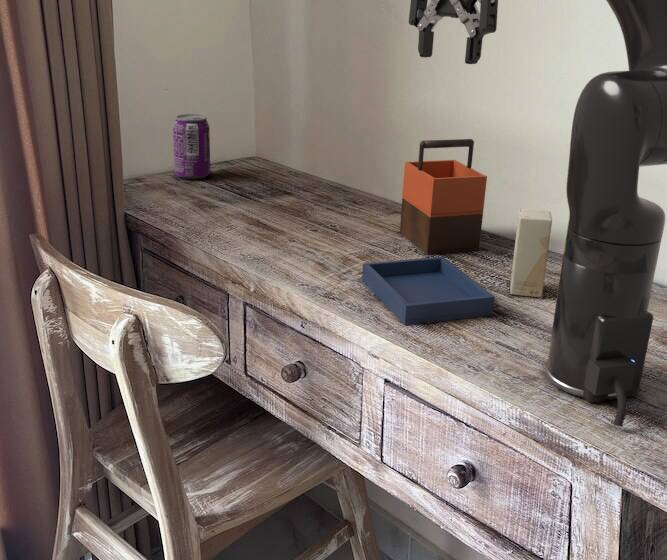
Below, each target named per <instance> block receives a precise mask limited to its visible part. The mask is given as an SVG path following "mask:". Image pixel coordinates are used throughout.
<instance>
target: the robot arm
mask: <svg viewBox="0 0 667 560" xmlns="http://www.w3.org/2000/svg"><path fill="white" fill-rule="evenodd" d="M428 1H429V0H410V5H409V13H408V14H409V15H408V24H409V25H410V26H414V27H415V28H416V29H417V30H418V42H417V43H418V44H417V50H418V53H419V57H420V58H431V57H432V56H433V51H434V50H433V49H434V37H435V31H433V30H434V29H435V27H436V26H437V25H438V22H440V21H441V20H442V19H444V18H447V17H450V18H451V19H459V21H460V23H461V24H463V26H464V28H465V29H466V32H467V33H468V35H469V36H467V37H466V45H465V56H464V63H465V64H466V65H476V64H478V61H480V59H481V57H482V48H483V39H484V37H485V36H486V35H489V34H494V33H495V32H496V31H497V26H498V11H499V9H498V8H499V0H430V2H429V4H428ZM605 1H606V2H607V4H608V6H609V7H610V9H611V11H612V13H613V14H614V16H615V18H616V20H617V23H618V25H619V28H620V30H621V33H622V38H623V40H624V45H625V51H626V57H627V63H628V64H627V66H628V70H614V71H606V72H602V73H599V74H597V75H596V76H595V75H594V76H593V77H592V78H591V79H590V80H589V81H588V82H587V83H586V84H585V86H584V87H583V89H582V90H581V92H580V94H579V96H578V99H577V101H576V105H575V109H574V112H573V117H572V123H571V124H572V125H571V130H570V131H571V132H570V141H569V142H570V143H569V156H568V167H567V174H566V175H567V176H566V201H567V205H568V211H569V212H568V213H569V214H568V223H567V228H566V236H565V241H564V248H563V255H562V260H561V261H562V263H561V269H560V275H559V281H558V288H557V295H556V301H555V309H554V316H553V322H552V327H551V328H552V329H551V334H550V341H549V342H550V343H549V350H548V358H547V361H546V364H545V368H544V369H545V370H544V374H545V377H546V378H547V380H548V381H549V382H550V383H551V384H552V386H554V387H556V388H557V389H559V390H561V391H563V392H565V393H568V394H570V395H572V396H573V395H574V396H576V397H579V398H582V399H584V400H585V401H587V402H588V403H599V402H604V401H611V400H617V410H616V414H615V418H614V422H613V425H614V426H617V427H623V424H624V421H625V418H626V414H627V398H630V397H631V398H632V397H636V396H639V392H640V387H641V381H642V377H643V373H644V366H645V361H646V356H647V351H648V347H649V342H650V336H651V331H652V326H653V323H654V314H653V313H652V312H650V311H649V310H648V309H649V306H650V300H651V294H652V289H653V284H654V278H655V273H656V269H657V264H658V258H659V255H660V250H661V245H662V244H661V243H662V239H663V235H664V230H665V224H666V214H665V211H664V209H663V208H662V207H661V206H660V205H659V204H657V203H655V202H654V201H652V200H649V199H646V198H644V197H640V195H639V193H638V185H639V174H640V167H653V166H662V165H663V166H664V165H667V0H605ZM477 2H479V4H480V8H479V9H478V7H477V5H476V3H477ZM479 10H480V11H479Z"/></svg>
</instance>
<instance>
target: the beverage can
mask: <svg viewBox="0 0 667 560" xmlns="http://www.w3.org/2000/svg"><path fill="white" fill-rule="evenodd" d="M174 119H175V120H174V123H173V125H172V136H173V163H174V174H175V175H176V176H178V177H180V178H181V179H184V180H201V179H204V178H205V177H207V176H210V174H211V141H210V135H211V133H210V132H211V131H210V124H209V122H208V120H207V119H208V117H207V115H203V114H198V113H197V114H196V113H184V114H178V115H175V117H174Z"/></svg>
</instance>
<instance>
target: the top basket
mask: <svg viewBox="0 0 667 560" xmlns="http://www.w3.org/2000/svg"><path fill="white" fill-rule="evenodd" d="M474 146H475V141H474V139H473V138H463V139H462V138H461V139H460V138H459V139H458V138H457V139H455V138H454V139H431V140H421V141H420V142H419V150H418V161H405V162H404V167H403V168H404V170H403V182H402V183H403V184H402V195H401V197H402V198H403V199H405V200H406V201H408V202H409V203H411V204H412V205H413V206H415V207H416V208H418V209H419V210H421V211H422V212H424V213H425V214H426V215H428V216H429V217H444V216H459V215H474V214H483V215H484V209H485V199H486V189H487V181H488V175H486V174H484V173H482V172H479V171H478V170H476V169H474V168H472V166H473V165H472V164H473V156H474ZM445 148H447V149H449V148H468V154H467V163H466V164H464V163H462V162H460V161H458V160H457V159H442V160H441V159H439V160H438V159H437V160H424V156H425V155H424V152H425V149H445ZM402 198H401V199H402Z"/></svg>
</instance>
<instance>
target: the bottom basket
mask: <svg viewBox="0 0 667 560" xmlns="http://www.w3.org/2000/svg"><path fill="white" fill-rule="evenodd" d="M483 219H484V213H483V214H474V215H459V216H444V217H429V216H428V215H426V214H425V213H424V212H422V211H421V210H419V209H418V208H416V207H415V206H413V205H412V204H411V203H409V202H408V201H406V200H405V199H403V198H401V213H400V223H399V224H400V226H399V233H400V234H401V235H402V236H403V237H404V238H407V240H409V241H410V242H411V243H412V244H413V245H414V246H416V247H417V248H418V249H420V251H422V252H423V253H425V254H426V255H438V254H449V253H463V252H474V251H475V252H476V251H480V247H481V246H480V245H481V237H482V226H483Z"/></svg>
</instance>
